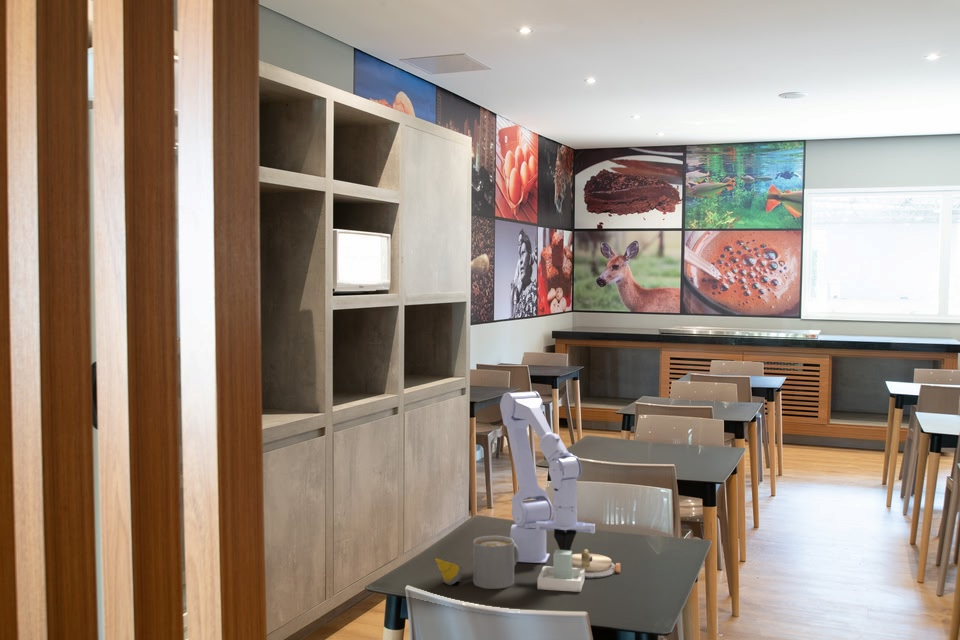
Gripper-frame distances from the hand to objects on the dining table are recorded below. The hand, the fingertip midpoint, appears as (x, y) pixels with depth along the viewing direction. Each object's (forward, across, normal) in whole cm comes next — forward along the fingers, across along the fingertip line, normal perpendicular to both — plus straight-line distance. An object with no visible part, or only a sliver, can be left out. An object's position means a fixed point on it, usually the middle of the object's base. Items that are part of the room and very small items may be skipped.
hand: (565, 560), depth 217 cm
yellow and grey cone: (+4, -26, -14) cm, 30 cm away
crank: (+2, +5, +5) cm, 7 cm away
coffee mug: (+4, -15, -8) cm, 18 cm away
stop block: (+3, 0, -8) cm, 8 cm away
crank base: (+3, +5, +5) cm, 8 cm away
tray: (+3, 0, -8) cm, 8 cm away
